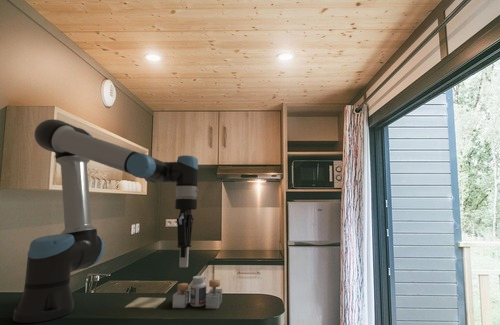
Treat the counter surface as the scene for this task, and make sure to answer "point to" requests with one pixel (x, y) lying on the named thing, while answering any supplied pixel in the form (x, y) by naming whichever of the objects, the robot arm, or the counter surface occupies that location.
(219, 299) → the set of grey blocks
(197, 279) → the pill bottle
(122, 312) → the counter surface
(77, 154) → the robot arm
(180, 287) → the plunger
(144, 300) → the coaster
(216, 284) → the plunger
